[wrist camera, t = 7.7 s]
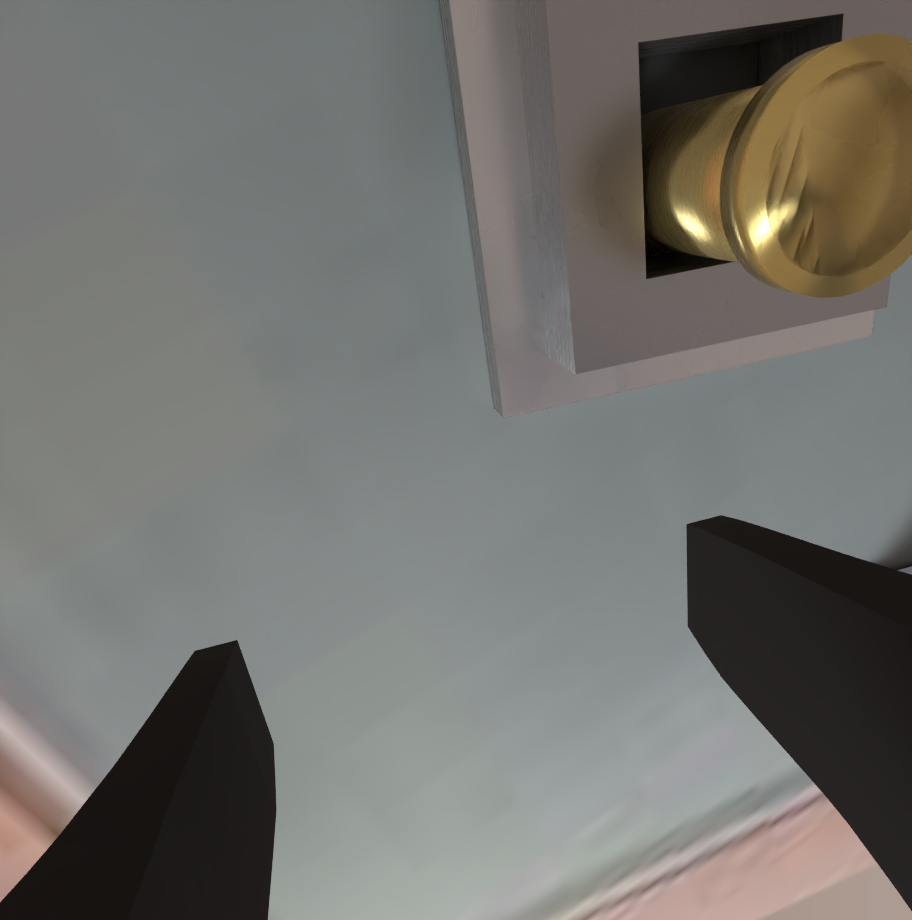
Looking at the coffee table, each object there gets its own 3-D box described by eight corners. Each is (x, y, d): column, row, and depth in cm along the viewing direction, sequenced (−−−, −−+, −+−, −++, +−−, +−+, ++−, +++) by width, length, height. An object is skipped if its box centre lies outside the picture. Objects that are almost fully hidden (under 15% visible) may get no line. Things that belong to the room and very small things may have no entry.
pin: (740, 83, 18) (982, 24, 12) (730, 252, 20) (935, 281, 13) (587, 98, 17) (754, 44, 11) (590, 271, 19) (737, 312, 13)
